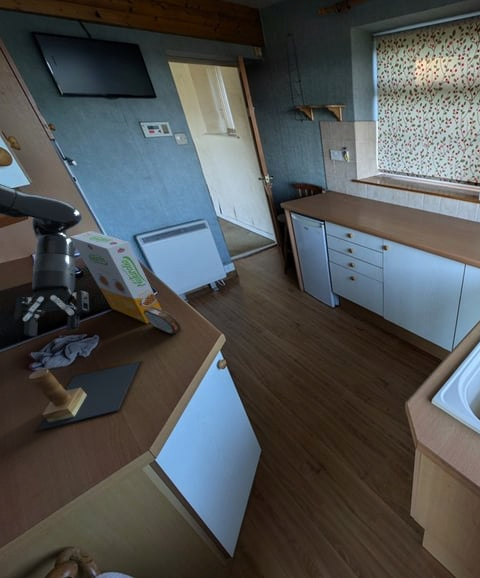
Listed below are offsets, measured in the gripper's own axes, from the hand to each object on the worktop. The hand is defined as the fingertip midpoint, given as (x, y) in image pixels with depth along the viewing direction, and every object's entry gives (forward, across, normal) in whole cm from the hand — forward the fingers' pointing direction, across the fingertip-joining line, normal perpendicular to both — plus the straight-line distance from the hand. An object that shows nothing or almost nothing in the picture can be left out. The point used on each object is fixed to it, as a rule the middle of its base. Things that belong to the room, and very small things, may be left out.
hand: (52, 333), depth 75 cm
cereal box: (-12, -1, +39) cm, 41 cm away
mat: (+17, +4, +10) cm, 19 cm away
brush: (+19, 0, +6) cm, 20 cm away
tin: (-2, +14, +28) cm, 31 cm away
